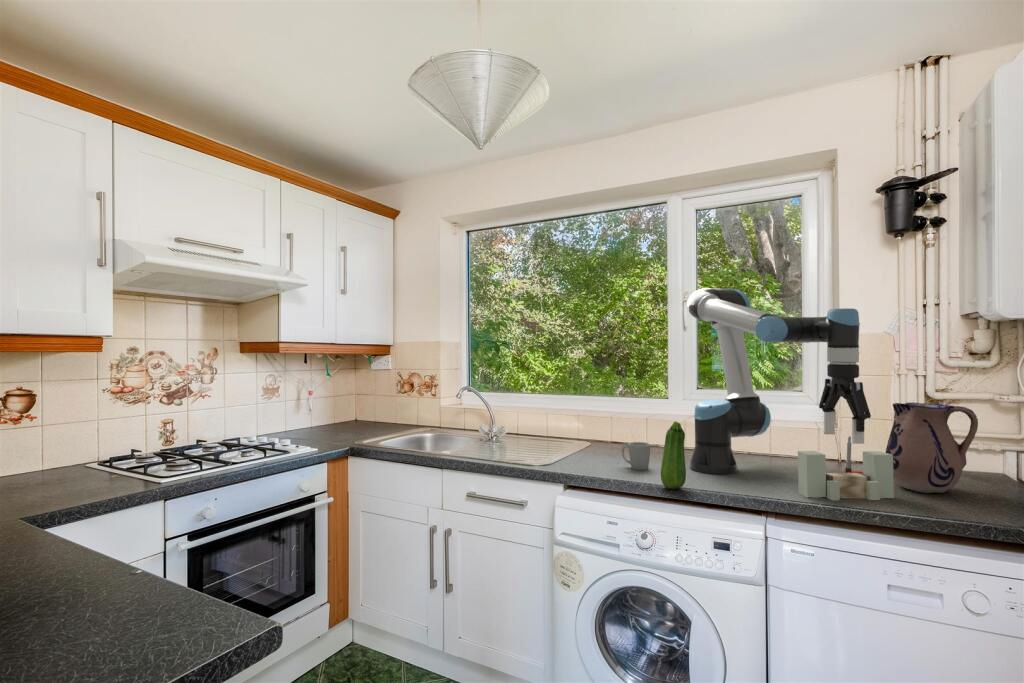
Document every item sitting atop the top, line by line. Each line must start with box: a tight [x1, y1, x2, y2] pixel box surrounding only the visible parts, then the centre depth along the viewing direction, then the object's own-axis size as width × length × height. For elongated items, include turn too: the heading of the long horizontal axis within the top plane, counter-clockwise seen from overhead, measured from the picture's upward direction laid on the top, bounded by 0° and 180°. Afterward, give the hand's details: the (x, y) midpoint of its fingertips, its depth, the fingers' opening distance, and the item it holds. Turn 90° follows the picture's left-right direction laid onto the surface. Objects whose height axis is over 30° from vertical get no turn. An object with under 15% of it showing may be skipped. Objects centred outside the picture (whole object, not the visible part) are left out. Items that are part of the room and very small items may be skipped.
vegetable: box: [660, 420, 687, 490], centre depth 152 cm, size 7×7×20 cm
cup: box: [621, 441, 652, 471], centre depth 178 cm, size 8×10×8 cm
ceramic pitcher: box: [884, 401, 979, 494], centre depth 148 cm, size 18×21×25 cm
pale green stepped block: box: [797, 450, 841, 501], centre depth 143 cm, size 8×9×12 cm
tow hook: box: [843, 435, 863, 474], centre depth 164 cm, size 8×13×9 cm
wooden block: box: [826, 472, 870, 499], centre depth 143 cm, size 11×4×6 cm, turn 87°
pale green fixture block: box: [862, 450, 895, 501], centre depth 143 cm, size 8×9×12 cm
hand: (843, 438), depth 143 cm, fingers open, 13 cm apart
